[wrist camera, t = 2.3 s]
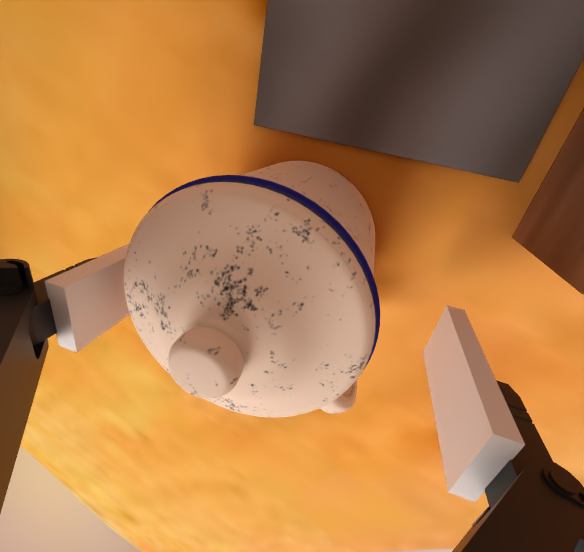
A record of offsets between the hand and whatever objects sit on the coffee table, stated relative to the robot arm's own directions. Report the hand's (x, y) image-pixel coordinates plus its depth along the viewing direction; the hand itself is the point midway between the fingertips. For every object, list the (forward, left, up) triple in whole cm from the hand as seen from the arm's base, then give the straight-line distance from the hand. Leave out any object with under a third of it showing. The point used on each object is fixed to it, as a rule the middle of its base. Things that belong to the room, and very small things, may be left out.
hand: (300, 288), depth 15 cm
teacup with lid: (0, 0, -4) cm, 4 cm away
